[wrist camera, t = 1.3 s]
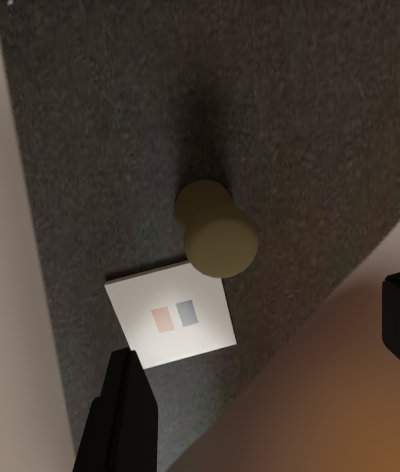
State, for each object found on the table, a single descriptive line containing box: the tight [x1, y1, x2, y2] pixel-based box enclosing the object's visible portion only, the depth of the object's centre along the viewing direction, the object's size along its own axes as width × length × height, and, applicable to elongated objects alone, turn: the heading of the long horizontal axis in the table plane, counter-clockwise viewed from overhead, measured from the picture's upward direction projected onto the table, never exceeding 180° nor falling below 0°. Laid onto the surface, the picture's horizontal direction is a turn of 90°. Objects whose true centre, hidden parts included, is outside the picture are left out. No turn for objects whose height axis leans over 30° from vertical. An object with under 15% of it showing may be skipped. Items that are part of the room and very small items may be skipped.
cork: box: [174, 180, 259, 278], centre depth 23 cm, size 6×6×11 cm
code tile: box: [104, 260, 236, 369], centre depth 31 cm, size 12×12×1 cm
